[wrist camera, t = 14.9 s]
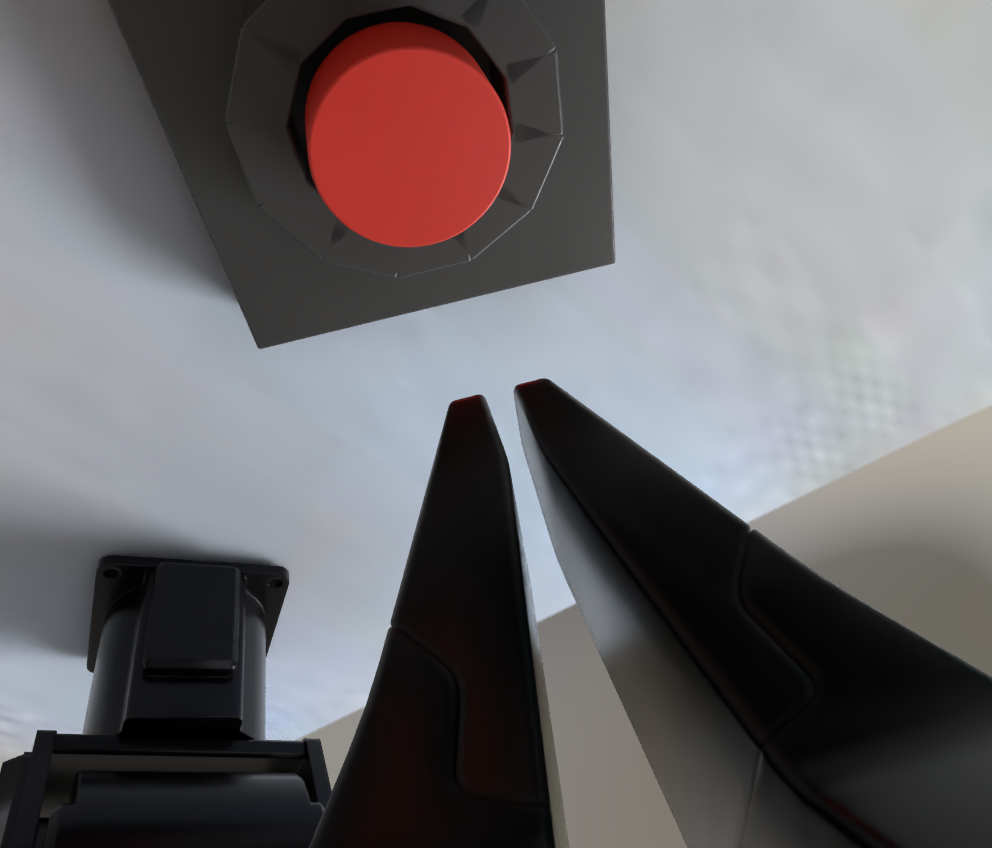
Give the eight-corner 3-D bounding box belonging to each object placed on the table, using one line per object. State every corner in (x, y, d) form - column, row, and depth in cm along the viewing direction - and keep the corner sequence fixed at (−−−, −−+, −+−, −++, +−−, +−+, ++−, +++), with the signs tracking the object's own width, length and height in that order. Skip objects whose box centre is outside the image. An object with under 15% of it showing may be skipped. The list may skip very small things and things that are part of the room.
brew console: (595, 232, 23) (635, 293, 20) (259, 312, 22) (257, 386, 20) (565, -261, 16) (624, -262, 13) (61, -163, 15) (17, -143, 12)
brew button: (505, 189, 18) (523, 224, 17) (334, 229, 18) (340, 267, 17) (478, 1, 15) (497, 24, 14) (277, 44, 15) (278, 73, 14)
